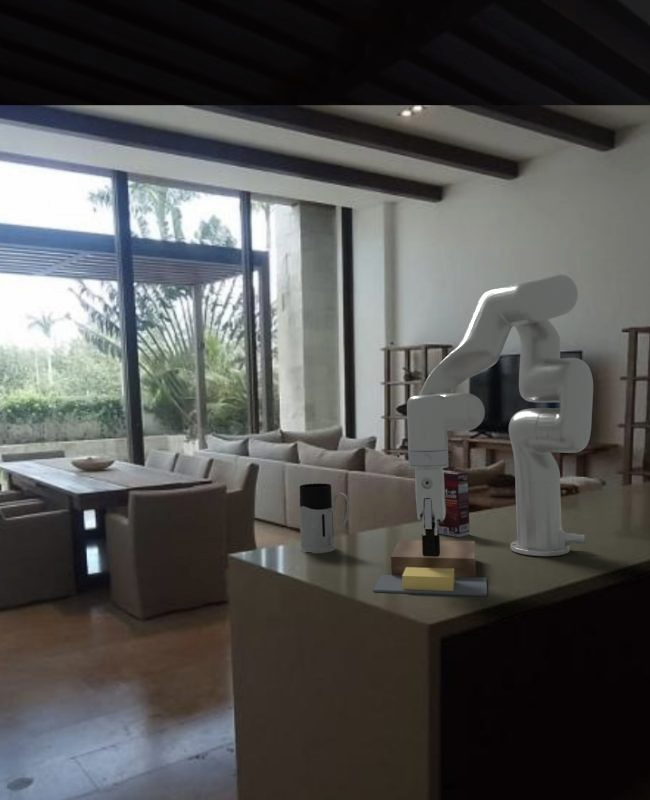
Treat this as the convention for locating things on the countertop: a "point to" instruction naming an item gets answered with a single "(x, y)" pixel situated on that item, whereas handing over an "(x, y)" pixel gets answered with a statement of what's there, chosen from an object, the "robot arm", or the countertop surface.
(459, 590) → the mat
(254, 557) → the countertop surface
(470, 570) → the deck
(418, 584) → the yellow block
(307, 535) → the glass holder
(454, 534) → the supplement box
